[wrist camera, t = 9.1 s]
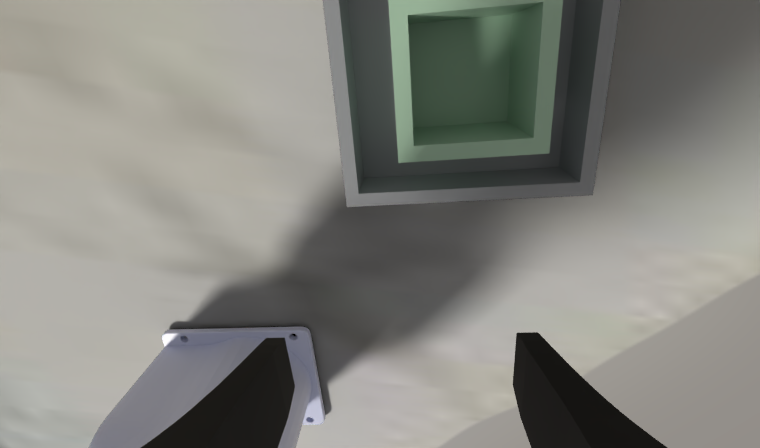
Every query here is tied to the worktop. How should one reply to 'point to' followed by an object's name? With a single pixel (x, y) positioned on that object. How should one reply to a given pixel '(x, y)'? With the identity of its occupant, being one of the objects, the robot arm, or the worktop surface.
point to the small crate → (473, 77)
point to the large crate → (474, 175)
